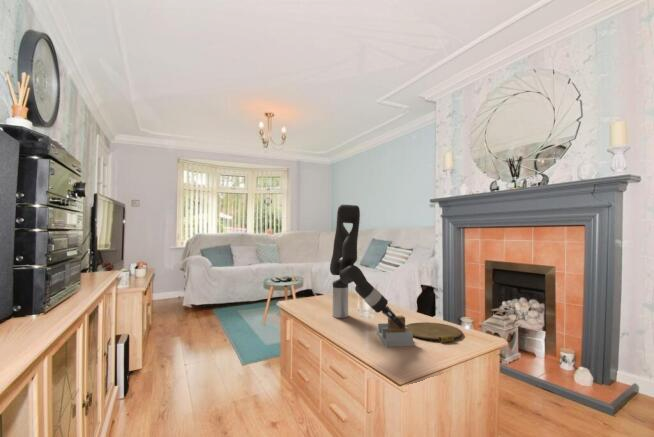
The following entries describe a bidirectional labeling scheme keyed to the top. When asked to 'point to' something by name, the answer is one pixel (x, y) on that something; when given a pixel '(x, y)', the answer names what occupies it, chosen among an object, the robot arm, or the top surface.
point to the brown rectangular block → (394, 327)
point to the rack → (394, 336)
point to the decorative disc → (434, 331)
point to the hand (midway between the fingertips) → (399, 324)
